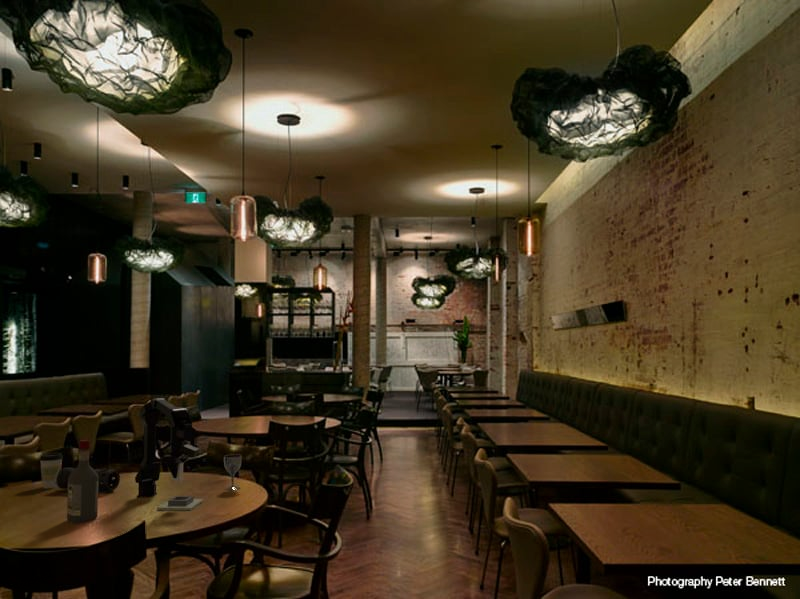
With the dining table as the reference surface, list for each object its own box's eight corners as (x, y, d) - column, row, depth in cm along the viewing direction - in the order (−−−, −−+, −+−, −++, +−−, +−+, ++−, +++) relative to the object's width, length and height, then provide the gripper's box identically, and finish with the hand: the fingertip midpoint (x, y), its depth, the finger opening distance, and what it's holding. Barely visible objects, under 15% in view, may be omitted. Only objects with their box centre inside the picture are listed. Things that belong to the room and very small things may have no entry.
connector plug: (171, 482, 254) (171, 461, 254) (174, 480, 257) (175, 459, 258) (179, 482, 253) (179, 461, 254) (182, 480, 257) (183, 460, 257)
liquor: (89, 515, 243) (91, 438, 245) (99, 519, 237) (101, 440, 239) (64, 520, 236) (66, 440, 238) (75, 524, 230) (77, 443, 232)
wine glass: (230, 491, 280) (231, 458, 281) (219, 489, 284) (220, 456, 285) (244, 488, 286) (245, 455, 287) (234, 485, 291) (234, 453, 292)
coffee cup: (33, 488, 288) (34, 456, 289) (50, 483, 297) (51, 452, 298) (50, 489, 285) (51, 457, 286) (67, 485, 295) (68, 453, 296)
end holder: (157, 510, 249) (157, 502, 249) (171, 501, 263) (171, 494, 263) (191, 510, 248) (191, 502, 249) (203, 501, 262) (203, 494, 263)
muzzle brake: (106, 495, 275) (107, 471, 276) (52, 492, 280) (52, 469, 281) (120, 490, 284) (120, 467, 285) (67, 487, 290) (68, 465, 290)
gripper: (187, 442, 247) (186, 482, 245) (205, 435, 265) (204, 472, 264) (160, 442, 247) (159, 482, 246) (180, 435, 266) (179, 472, 265)
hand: (177, 477), depth 255 cm, fingers closed on connector plug, 3 cm apart
